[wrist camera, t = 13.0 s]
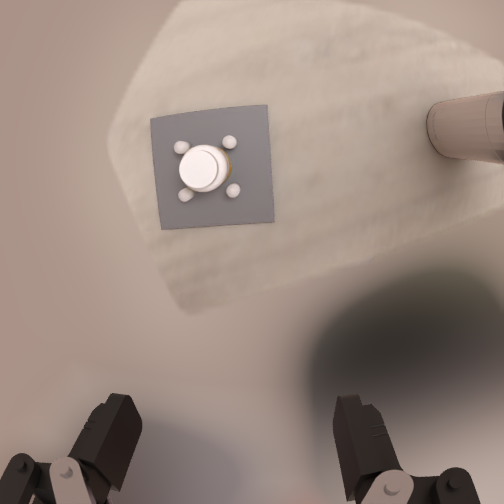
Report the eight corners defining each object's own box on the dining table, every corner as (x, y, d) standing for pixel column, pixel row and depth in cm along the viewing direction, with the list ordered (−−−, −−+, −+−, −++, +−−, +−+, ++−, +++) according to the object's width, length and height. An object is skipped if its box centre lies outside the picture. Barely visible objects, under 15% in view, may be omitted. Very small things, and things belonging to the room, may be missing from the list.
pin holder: (266, 106, 36) (267, 99, 32) (274, 220, 41) (275, 228, 37) (153, 119, 37) (140, 115, 32) (164, 227, 42) (153, 236, 37)
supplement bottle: (186, 177, 38) (164, 184, 29) (201, 140, 37) (183, 135, 27) (223, 192, 39) (212, 203, 30) (238, 155, 37) (232, 154, 28)
